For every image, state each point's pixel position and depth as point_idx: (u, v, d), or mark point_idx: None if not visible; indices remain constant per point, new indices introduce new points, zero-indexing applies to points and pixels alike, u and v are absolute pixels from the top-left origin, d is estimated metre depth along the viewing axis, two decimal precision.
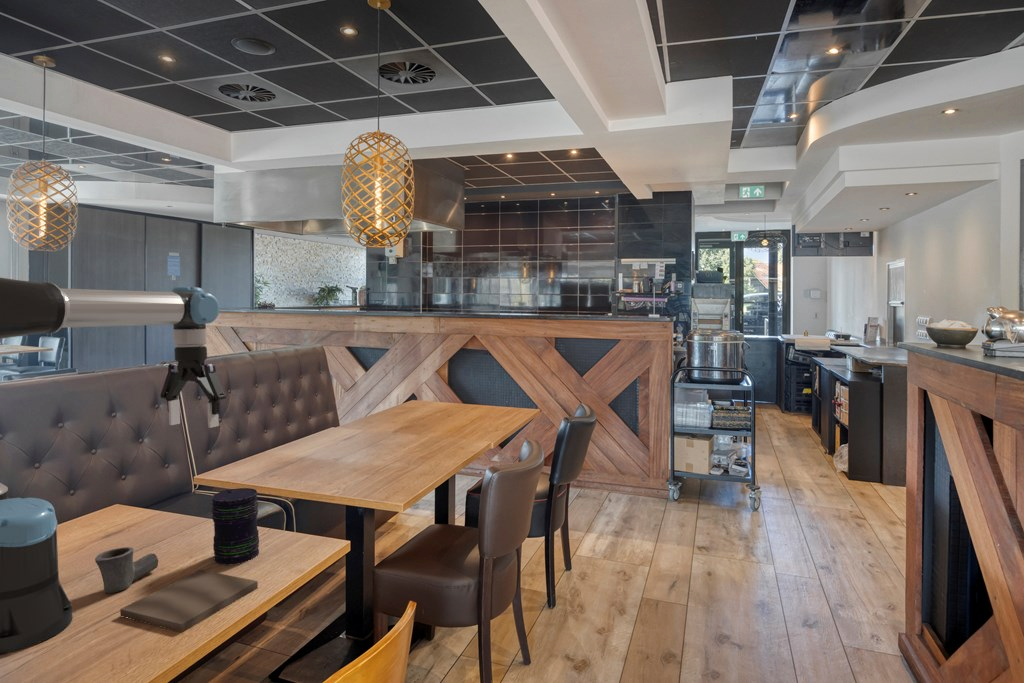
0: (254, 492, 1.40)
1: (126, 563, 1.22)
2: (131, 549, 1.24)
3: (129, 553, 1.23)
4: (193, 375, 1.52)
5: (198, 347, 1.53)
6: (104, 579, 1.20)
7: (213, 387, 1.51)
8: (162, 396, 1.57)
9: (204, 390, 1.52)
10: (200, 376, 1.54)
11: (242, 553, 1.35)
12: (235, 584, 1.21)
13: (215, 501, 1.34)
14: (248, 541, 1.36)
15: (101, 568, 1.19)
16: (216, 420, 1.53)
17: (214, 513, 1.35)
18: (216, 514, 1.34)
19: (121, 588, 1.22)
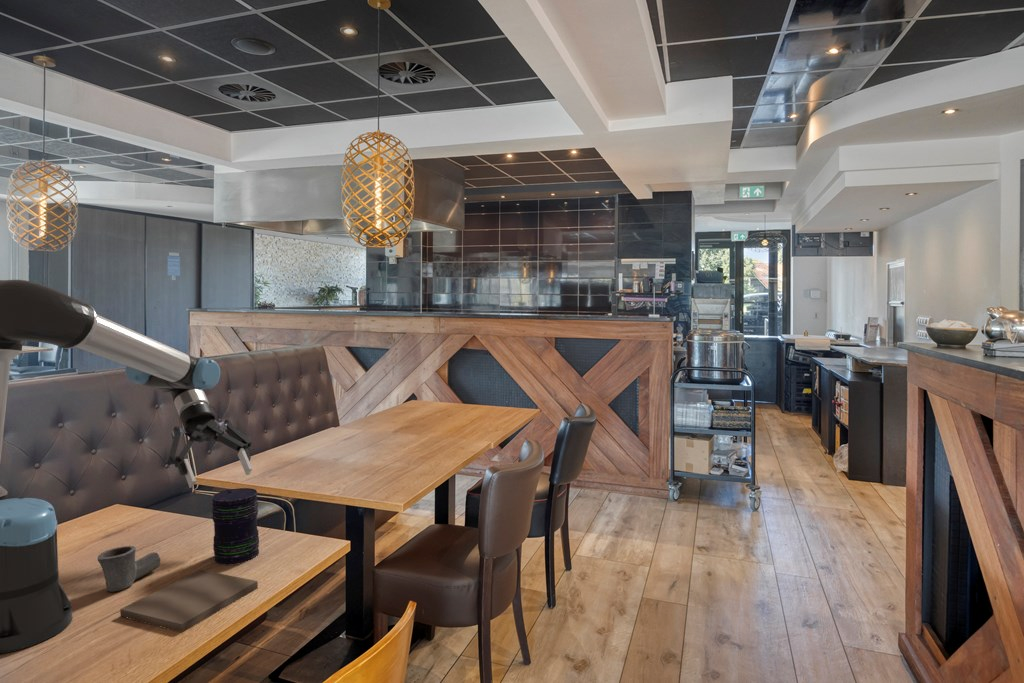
0: (254, 492, 1.40)
1: (128, 562, 1.23)
2: (133, 548, 1.25)
3: (131, 552, 1.23)
4: (216, 428, 1.51)
5: None
6: (106, 578, 1.21)
7: (243, 435, 1.55)
8: (172, 457, 1.40)
9: (232, 439, 1.52)
10: None
11: (242, 553, 1.35)
12: (235, 584, 1.21)
13: (215, 501, 1.34)
14: (248, 541, 1.36)
15: (103, 567, 1.20)
16: None
17: (214, 513, 1.35)
18: (216, 514, 1.34)
19: (123, 587, 1.22)
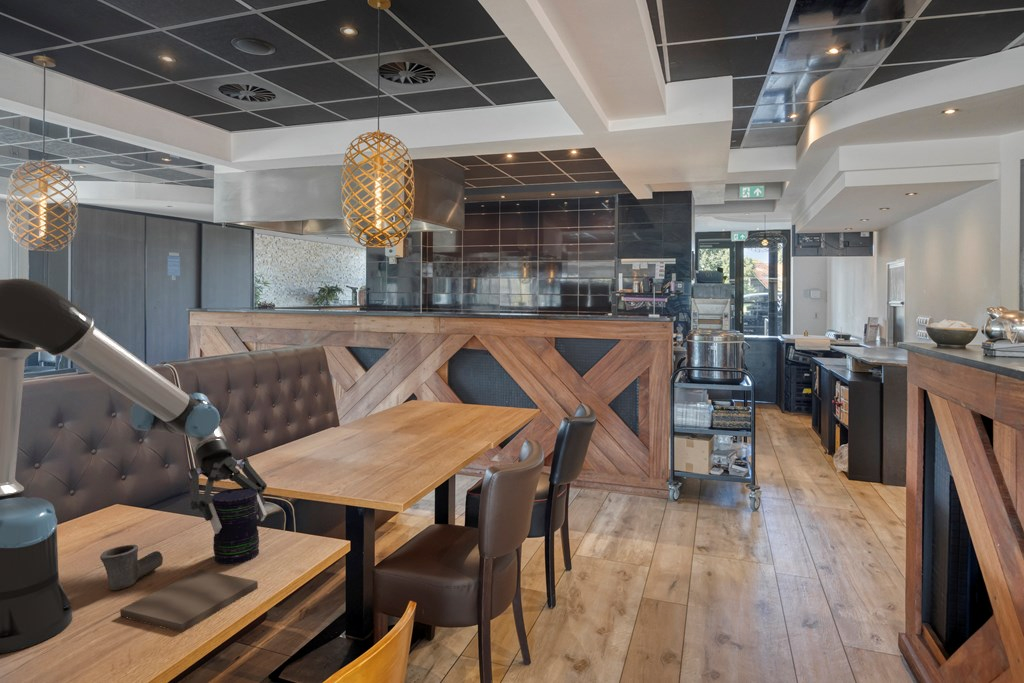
0: (254, 492, 1.40)
1: (131, 560, 1.23)
2: (136, 547, 1.25)
3: (134, 551, 1.24)
4: (233, 466, 1.44)
5: None
6: (109, 576, 1.21)
7: (258, 476, 1.46)
8: (197, 501, 1.33)
9: (247, 481, 1.44)
10: None
11: (242, 553, 1.35)
12: (235, 584, 1.21)
13: (215, 500, 1.34)
14: (248, 541, 1.36)
15: (106, 565, 1.21)
16: None
17: None
18: None
19: (126, 585, 1.23)
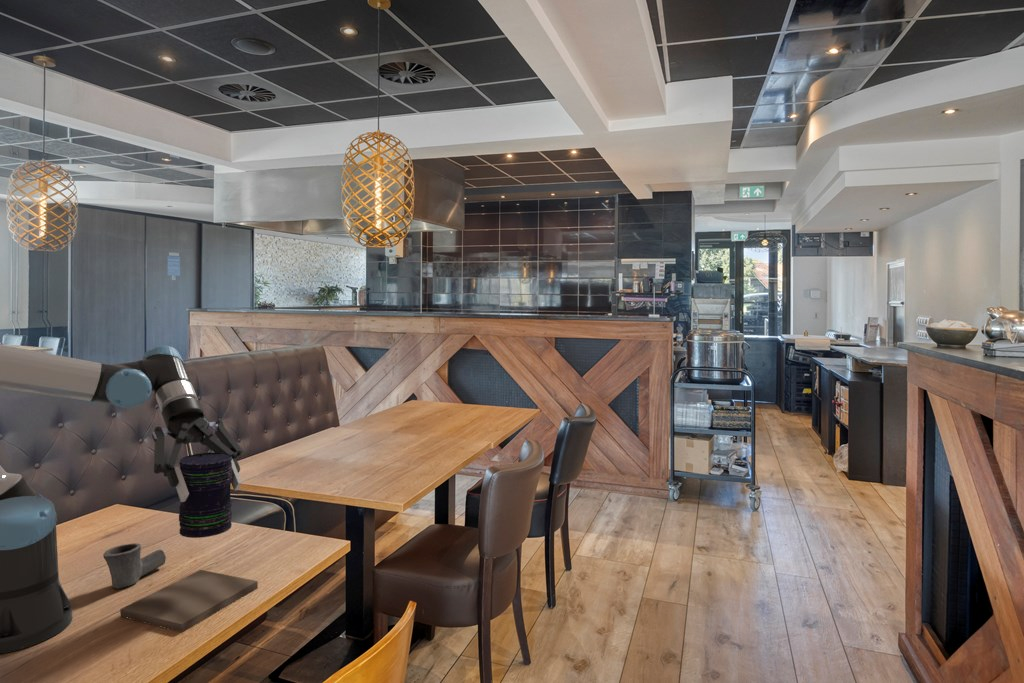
0: (228, 457, 1.23)
1: (133, 559, 1.24)
2: (139, 545, 1.26)
3: (136, 549, 1.24)
4: (205, 428, 1.27)
5: None
6: (112, 574, 1.22)
7: (233, 441, 1.29)
8: (162, 464, 1.16)
9: (220, 445, 1.27)
10: (203, 435, 1.27)
11: (212, 525, 1.18)
12: (235, 584, 1.21)
13: (183, 464, 1.17)
14: (219, 511, 1.19)
15: (109, 564, 1.21)
16: None
17: None
18: None
19: (128, 584, 1.24)
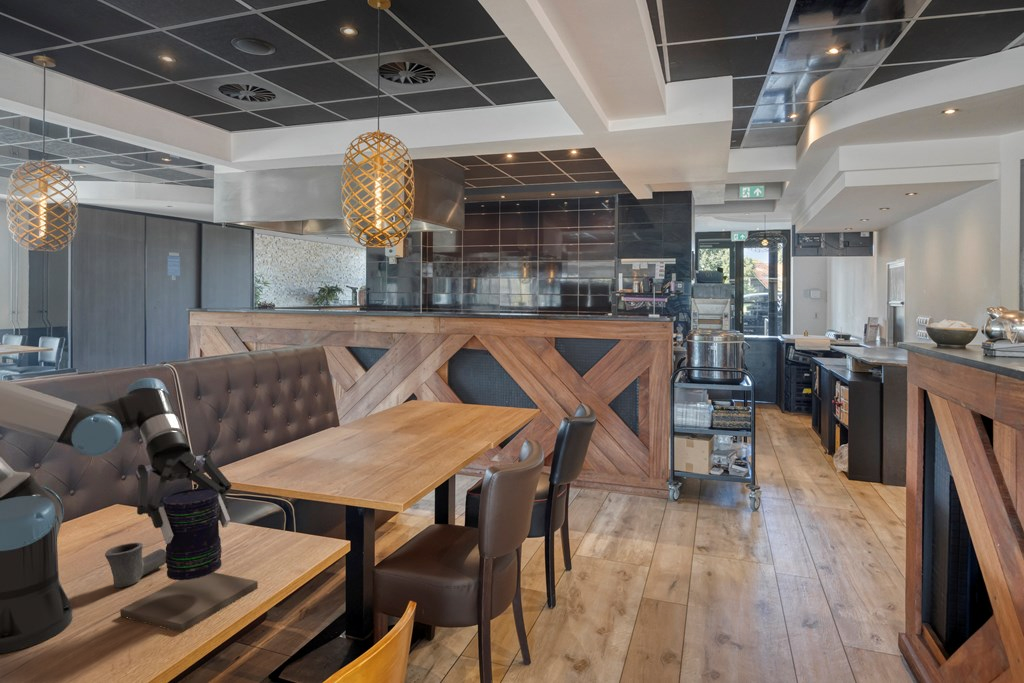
0: (215, 493, 1.18)
1: (135, 558, 1.24)
2: (140, 544, 1.26)
3: (138, 548, 1.25)
4: (191, 463, 1.22)
5: None
6: (113, 574, 1.23)
7: (221, 475, 1.24)
8: (144, 505, 1.12)
9: (207, 480, 1.22)
10: None
11: (200, 566, 1.14)
12: (235, 584, 1.21)
13: (166, 504, 1.12)
14: (207, 551, 1.14)
15: (111, 563, 1.22)
16: None
17: None
18: (168, 520, 1.12)
19: (130, 583, 1.24)
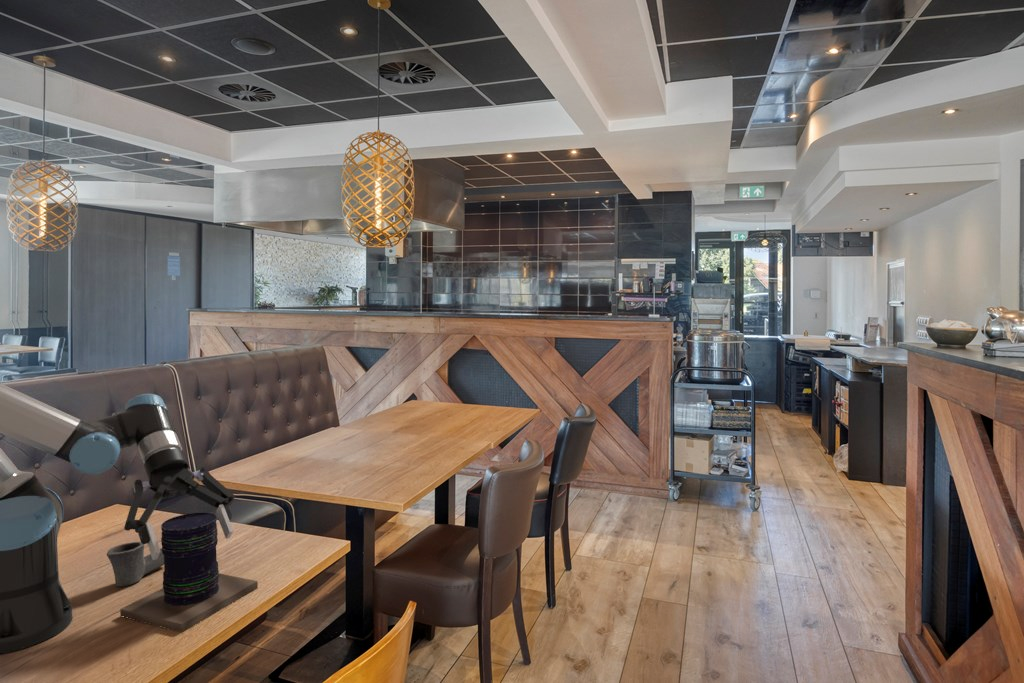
0: (213, 518, 1.18)
1: (136, 557, 1.25)
2: (142, 544, 1.27)
3: (139, 548, 1.25)
4: (189, 480, 1.22)
5: None
6: (115, 573, 1.23)
7: (222, 487, 1.25)
8: (131, 521, 1.11)
9: (209, 493, 1.23)
10: (189, 486, 1.23)
11: (197, 592, 1.14)
12: (235, 584, 1.21)
13: (164, 529, 1.12)
14: (204, 577, 1.14)
15: (112, 562, 1.22)
16: None
17: (163, 544, 1.13)
18: (165, 545, 1.12)
19: (132, 582, 1.24)
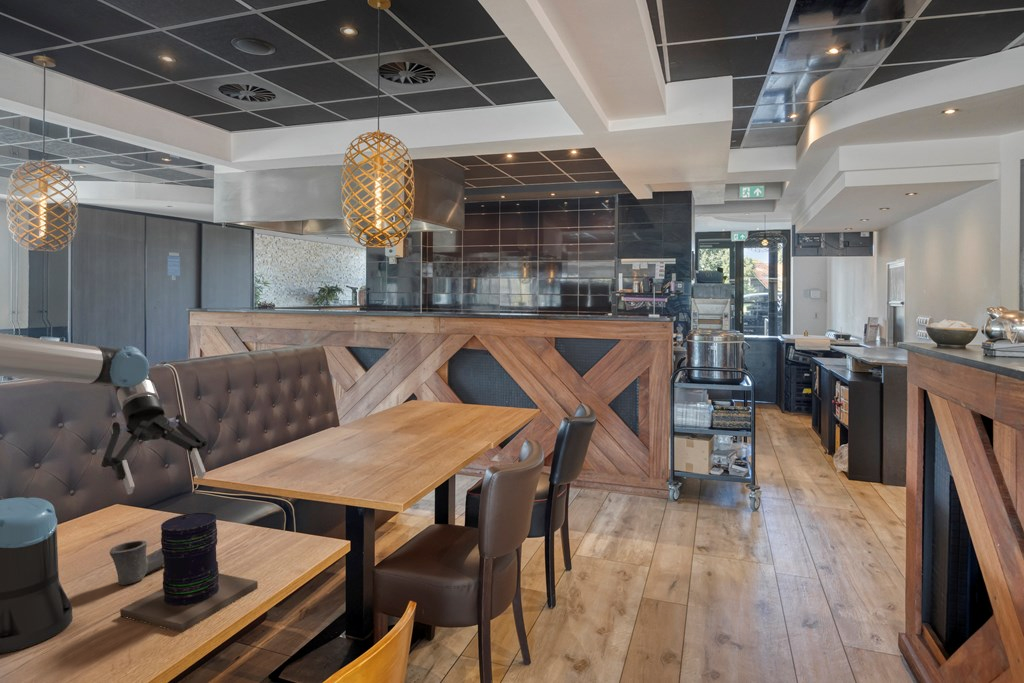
0: (213, 518, 1.18)
1: (139, 556, 1.25)
2: (144, 542, 1.27)
3: (142, 546, 1.26)
4: (164, 425, 1.30)
5: None
6: (118, 571, 1.24)
7: (197, 433, 1.33)
8: (108, 458, 1.19)
9: (184, 438, 1.31)
10: (164, 431, 1.31)
11: (197, 592, 1.14)
12: (235, 584, 1.21)
13: (164, 530, 1.12)
14: (204, 577, 1.14)
15: (115, 560, 1.23)
16: None
17: (163, 544, 1.13)
18: (165, 546, 1.12)
19: (134, 580, 1.25)
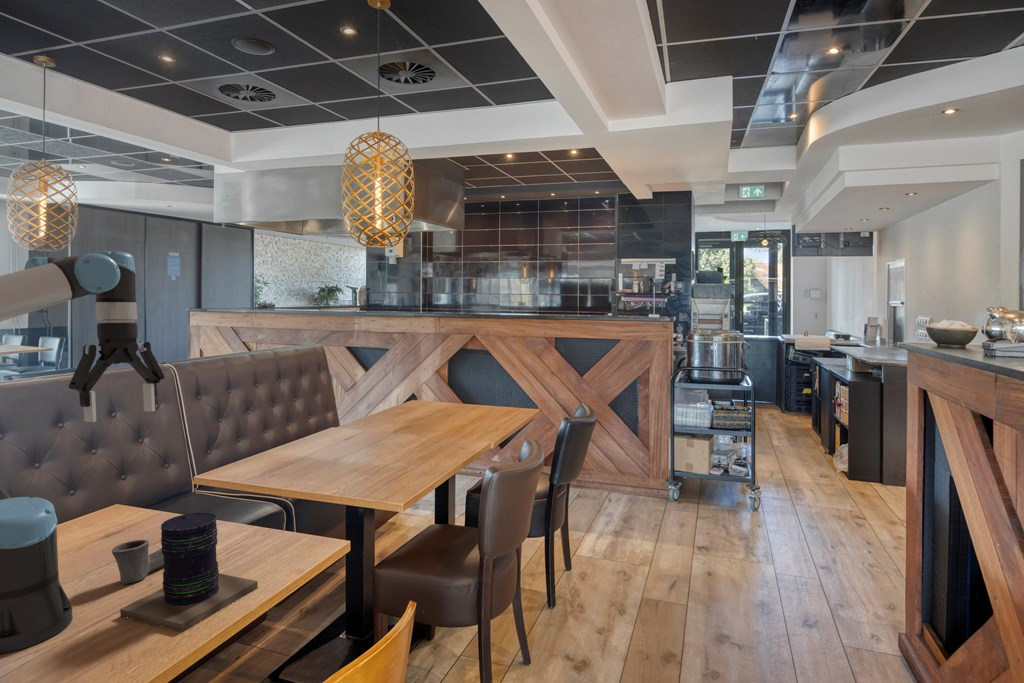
0: (213, 518, 1.18)
1: (141, 555, 1.26)
2: (146, 542, 1.28)
3: (144, 545, 1.26)
4: (134, 355, 1.33)
5: None
6: (120, 570, 1.24)
7: (157, 366, 1.39)
8: (80, 387, 1.22)
9: (146, 371, 1.36)
10: None
11: (197, 592, 1.14)
12: (235, 584, 1.21)
13: (164, 530, 1.12)
14: (204, 577, 1.14)
15: (117, 559, 1.24)
16: None
17: (163, 544, 1.13)
18: (165, 546, 1.12)
19: (136, 579, 1.26)
